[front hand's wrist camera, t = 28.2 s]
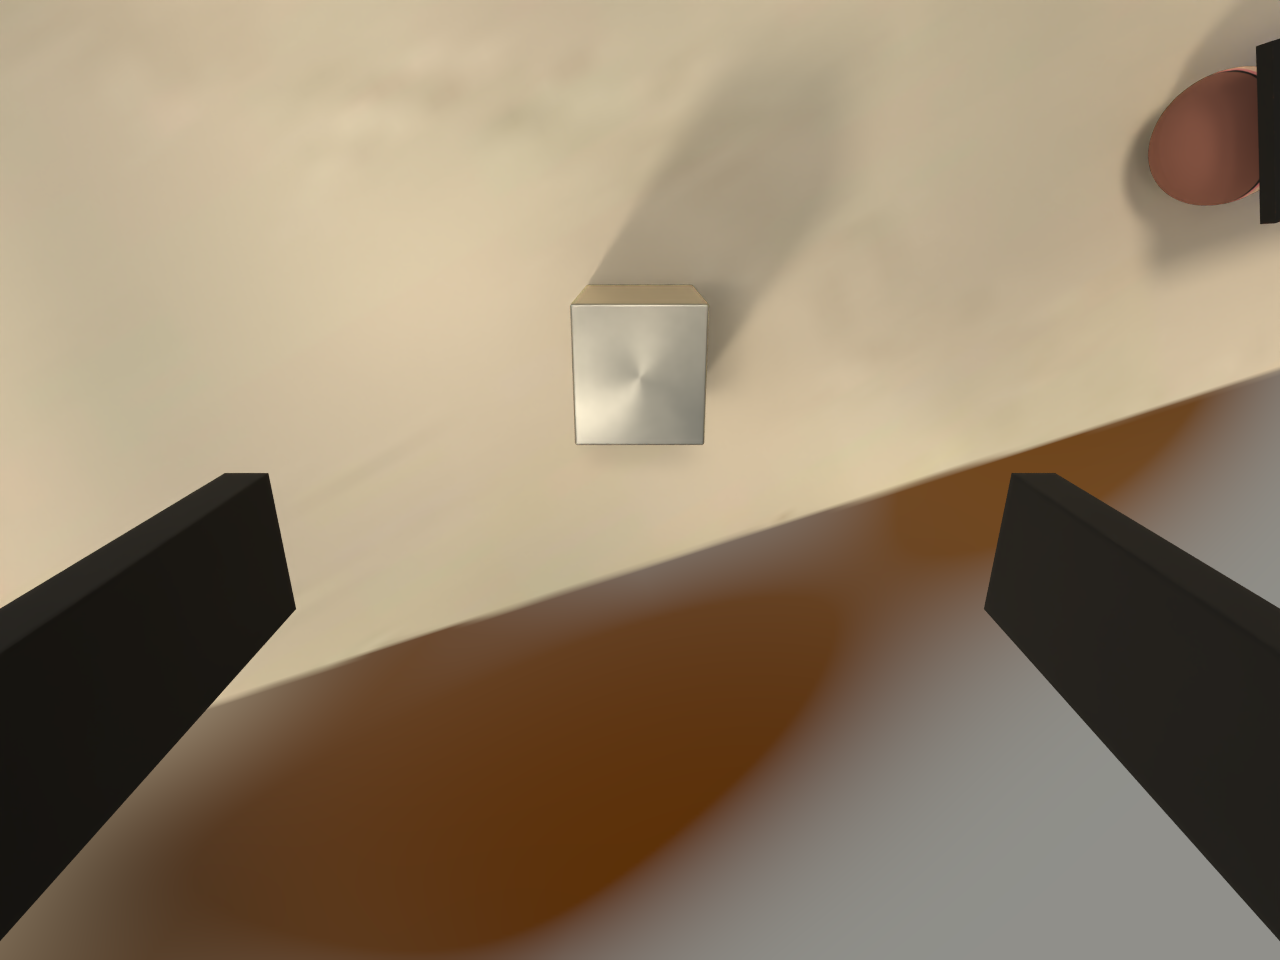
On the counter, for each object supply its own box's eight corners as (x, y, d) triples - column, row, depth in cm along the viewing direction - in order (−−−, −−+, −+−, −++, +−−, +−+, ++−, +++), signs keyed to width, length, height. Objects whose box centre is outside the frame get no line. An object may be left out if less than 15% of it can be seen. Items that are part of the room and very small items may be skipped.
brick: (692, 284, 32) (709, 303, 25) (690, 396, 34) (704, 445, 27) (586, 284, 32) (570, 303, 25) (589, 396, 34) (575, 445, 27)
